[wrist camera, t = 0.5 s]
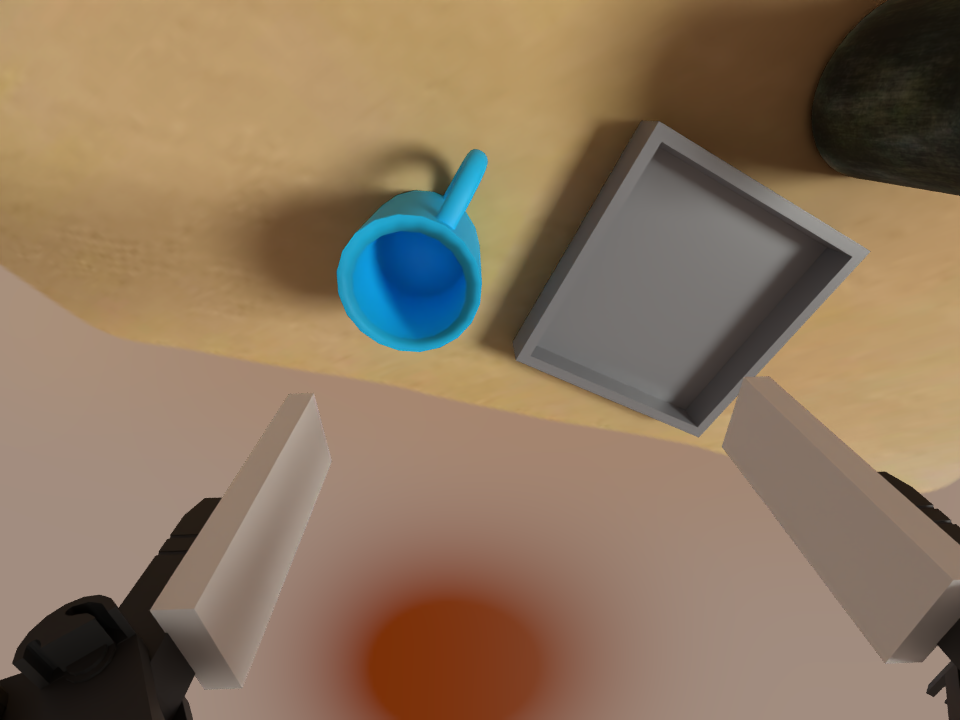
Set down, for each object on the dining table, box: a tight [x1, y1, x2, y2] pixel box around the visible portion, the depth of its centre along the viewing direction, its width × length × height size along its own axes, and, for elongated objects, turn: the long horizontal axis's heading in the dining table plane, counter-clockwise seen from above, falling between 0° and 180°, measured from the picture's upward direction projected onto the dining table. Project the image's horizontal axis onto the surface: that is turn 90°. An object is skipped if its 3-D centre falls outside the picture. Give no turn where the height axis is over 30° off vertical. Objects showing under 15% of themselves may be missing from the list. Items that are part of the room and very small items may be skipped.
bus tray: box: [513, 120, 871, 437], centre depth 32 cm, size 18×18×3 cm
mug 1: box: [337, 149, 488, 352], centre depth 27 cm, size 12×8×8 cm
